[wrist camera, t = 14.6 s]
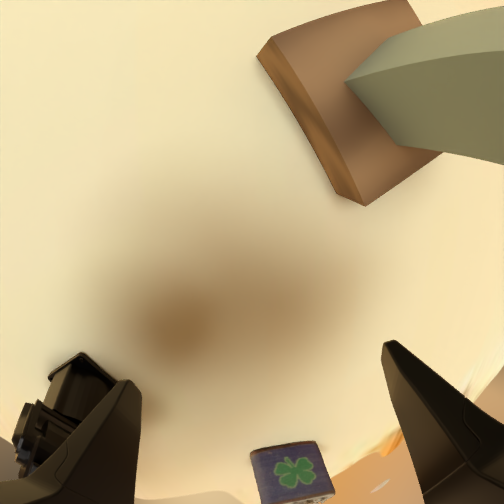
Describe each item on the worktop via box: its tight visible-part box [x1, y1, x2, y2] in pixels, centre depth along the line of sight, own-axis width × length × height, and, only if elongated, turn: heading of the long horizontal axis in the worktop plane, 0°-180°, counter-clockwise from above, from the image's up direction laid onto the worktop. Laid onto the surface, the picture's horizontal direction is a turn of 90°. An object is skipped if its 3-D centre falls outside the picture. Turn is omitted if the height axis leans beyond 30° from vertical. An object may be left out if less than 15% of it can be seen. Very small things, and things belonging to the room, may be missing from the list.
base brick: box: [257, 0, 443, 207], centre depth 15 cm, size 11×11×4 cm
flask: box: [250, 441, 335, 504], centre depth 27 cm, size 9×3×11 cm, turn 84°
